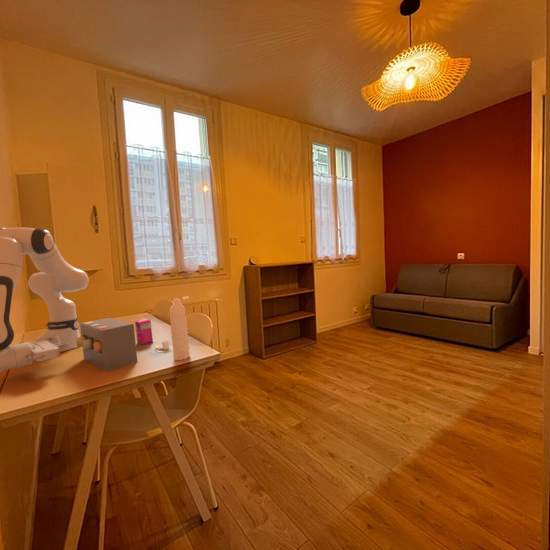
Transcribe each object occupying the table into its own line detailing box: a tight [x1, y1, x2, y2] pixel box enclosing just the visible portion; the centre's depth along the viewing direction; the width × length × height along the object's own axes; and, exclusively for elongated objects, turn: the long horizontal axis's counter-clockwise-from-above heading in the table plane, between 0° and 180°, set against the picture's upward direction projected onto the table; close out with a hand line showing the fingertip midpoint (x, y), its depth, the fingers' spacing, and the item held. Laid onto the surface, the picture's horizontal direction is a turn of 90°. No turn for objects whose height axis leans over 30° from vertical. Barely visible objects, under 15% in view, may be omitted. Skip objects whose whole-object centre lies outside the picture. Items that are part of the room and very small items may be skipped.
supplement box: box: [134, 318, 154, 346], centre depth 155 cm, size 6×6×12 cm
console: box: [79, 317, 138, 372], centre depth 130 cm, size 12×26×16 cm, turn 48°
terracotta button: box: [93, 341, 101, 353], centre depth 120 cm, size 3×4×4 cm
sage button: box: [81, 339, 93, 350], centre depth 125 cm, size 3×4×4 cm
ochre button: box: [76, 336, 87, 348], centre depth 130 cm, size 3×4×4 cm
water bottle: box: [169, 296, 191, 361], centre depth 128 cm, size 9×6×25 cm
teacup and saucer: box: [154, 340, 173, 353], centre depth 142 cm, size 9×8×4 cm
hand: (66, 344), depth 126 cm, fingers closed
